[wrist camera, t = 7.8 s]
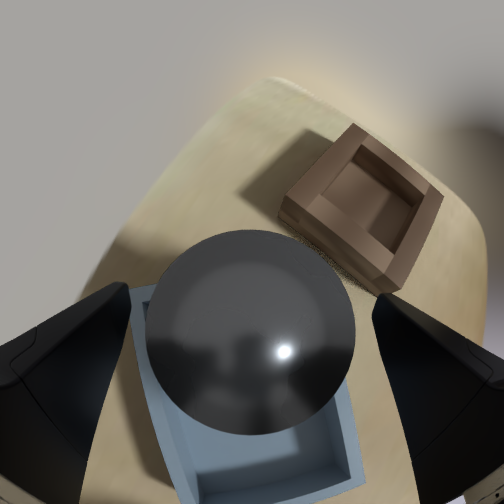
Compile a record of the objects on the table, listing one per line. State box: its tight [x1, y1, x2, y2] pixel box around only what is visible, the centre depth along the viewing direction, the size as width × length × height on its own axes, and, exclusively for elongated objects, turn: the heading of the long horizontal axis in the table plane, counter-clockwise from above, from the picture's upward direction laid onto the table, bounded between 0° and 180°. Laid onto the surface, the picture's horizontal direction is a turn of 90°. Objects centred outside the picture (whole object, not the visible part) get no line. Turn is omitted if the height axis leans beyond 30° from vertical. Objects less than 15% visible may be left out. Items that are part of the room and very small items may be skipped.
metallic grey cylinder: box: [145, 230, 356, 436], centre depth 11 cm, size 4×4×11 cm
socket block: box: [278, 123, 444, 297], centre depth 19 cm, size 9×9×3 cm
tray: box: [129, 283, 366, 504], centre depth 14 cm, size 14×10×4 cm
